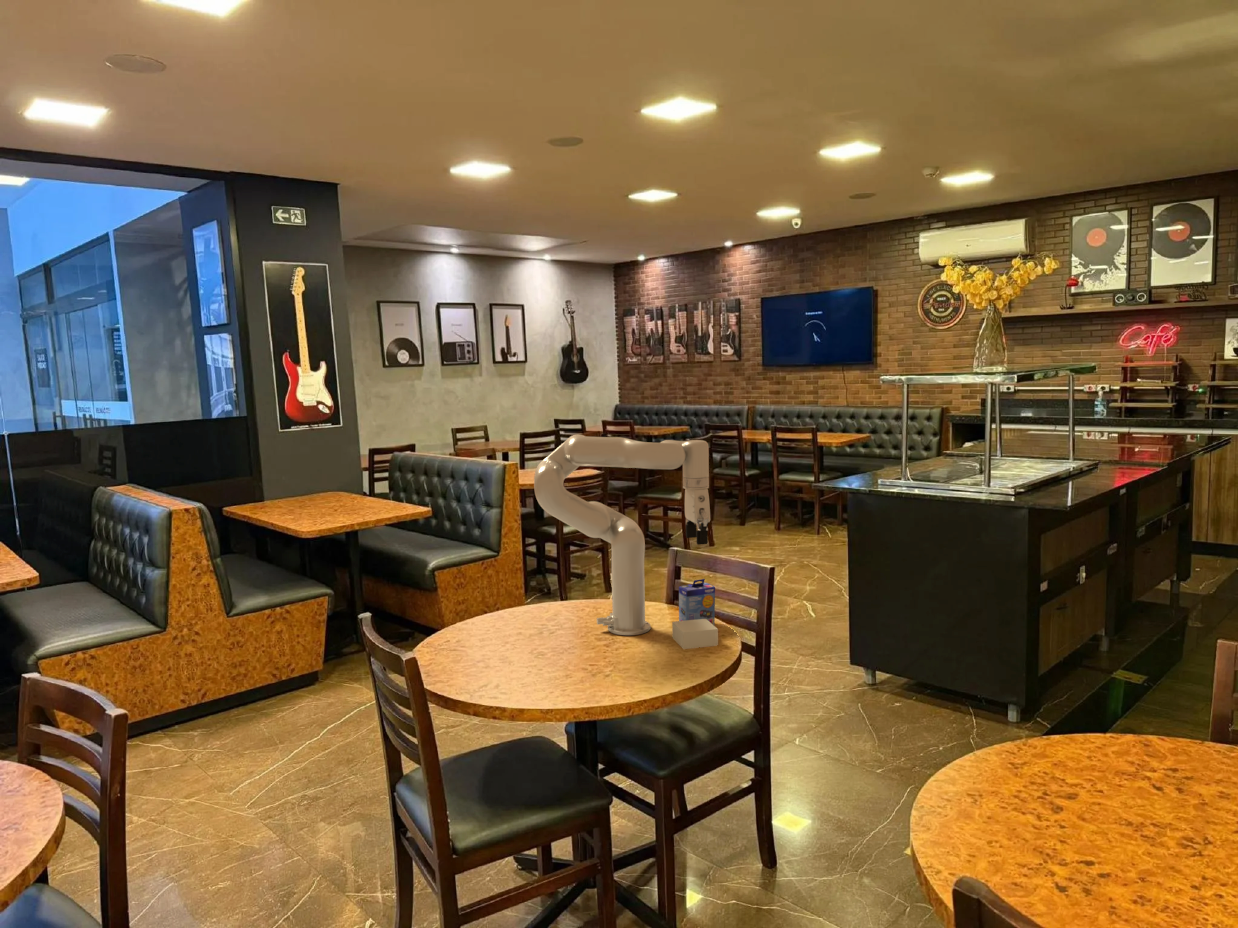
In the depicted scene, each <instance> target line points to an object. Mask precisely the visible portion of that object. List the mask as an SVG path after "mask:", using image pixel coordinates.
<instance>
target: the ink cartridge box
mask: <svg viewBox="0 0 1238 928" xmlns="http://www.w3.org/2000/svg"><path fill="white" fill-rule="evenodd" d="M715 602H716V587H715V585H712V584H710V583H708V582H705V578H702V579H694V580H693V582H692V584H686V585H681V586H678V621H686V620H697V619H707V620H708V621H709V622H710V623H711V624H713V625H714V626H715V619H716V618H715V616H716V615H715V613H716V612H715V610H716V608H715V607H716V606H715V605H716V603H715Z"/></svg>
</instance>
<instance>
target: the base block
mask: <svg viewBox="0 0 1238 928" xmlns="http://www.w3.org/2000/svg"><path fill="white" fill-rule="evenodd" d="M671 622H672V625H671V628H672V629H671V630H672V632H671V633H672V637H671V638H672V639H673V640H674V641H675V643H677V644H678V646H680V647H681V648H682V650H690V649H699V647H700V648H707V647H717V645H718V646H719V629H718V628H717V626H715V624H714V625H713V624H711V623H710V622H709V621H708V620H707V619H697V620H686V621H679V620H677V621H671Z"/></svg>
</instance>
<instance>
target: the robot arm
mask: <svg viewBox="0 0 1238 928" xmlns="http://www.w3.org/2000/svg"><path fill="white" fill-rule="evenodd" d="M709 455H710V454H709V443H708V442H707V441H706V440H703V439H692V440H691V439H689V440H674V439H664V440H663V441H660V442H647V441H640V440H635V439H631V438H627V437H621V436H619V437H616V436H615V437H613V436H612V437H611V436H609V437H608V436H607V437H606V436H586V435H583V434H578V433H577V434H574V435H571V436H569V437H568V438H566V440H565V441H564V442H563V443H561V444H560V445H559V446H558V447H557V448H556V449H554V450H553V451H552V452H551V453H550V454H549V455H548V456H546V457H545V458H544V459H543V460H542V461H540V463H538V465H537V466H536V468H535V471H534V478H533V481H534V482H533V483H534V484H533V486H534V487H533V489H534V495H535V498H536V500H537V503H538V505H539V506H540V507H541V509H542V510H544V512H546V514H548V515H550V516H552V517H554V518H556V519H557V520H559V521H561V522H562V523H564V524H565V525H568V527H569V526H570V527H571V528H573V529H575V530H577V531H579V532H580V533H582V534H584V535H585V536H586V537H589V538H593V539H598V538H599V539H602V540H603V541H605V542H607V543H609V544H610V545H611V546H610V547H611V596H612V600H611V601H612V602H611V603H612V612H609V615H607V616H606V617H597V618H596V624H597V626H598V625H602V626H603V627H604V626H605V627H606V626H607V630H608V631H609V633H611V634H614V635H619V636H637V635H643V634H645V633H647V632H650V631H651V629H652V627H651V624H650V622H649V621H647V620H646V601H645V599H646V597H645V596H646V594H645V593H646V591H645V590H646V589H645V588H646V586H645V554H646V553H645V552H646V544H645V542H646V541H645V535H644V533H643V531H642V529H641V528H640V526H639V524H637V522H636V521H635V520H633V519H632V518H631V517H628V516H626V515H624V514H623V513H621V512H619V511H618V510H615V509H613V508H612V507H610V506H607V505H606V504H603V503H602V502H599V501H594V500H593V501H588V500H587V501H586V500H585V499H583V498H581V497H579V496H578V495H576V494H574V493H572V492H570V491H569V490H567V488H566V487H565V486H564V481H565V479H567V477H568V476H571V474H572V473H573V472H574V471H576V470H577V469H578V468H579V467H606V468H607V467H610V468H624V469H625V468H626V469H629V468H630V469H631V468H632V469H635V468H636V469H647V470H675V469H678V468H680V467H681V466H682V489H685V490H684V517H685V537H686V539H691V538H692V539H693V538H695V539H696V545H698V546H699V545H707V544H708V541H709V540H708V539H709V538H708V536H709V535H708V534H709V533H708V531H709V528H708V526H709V524H708V523H710V521H711V509H710V506H711V505H710V496H709V490H708V489H710V473H709V472H710V470H709V469H710V465H709V464H710V462H709V458H710V457H709Z"/></svg>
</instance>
